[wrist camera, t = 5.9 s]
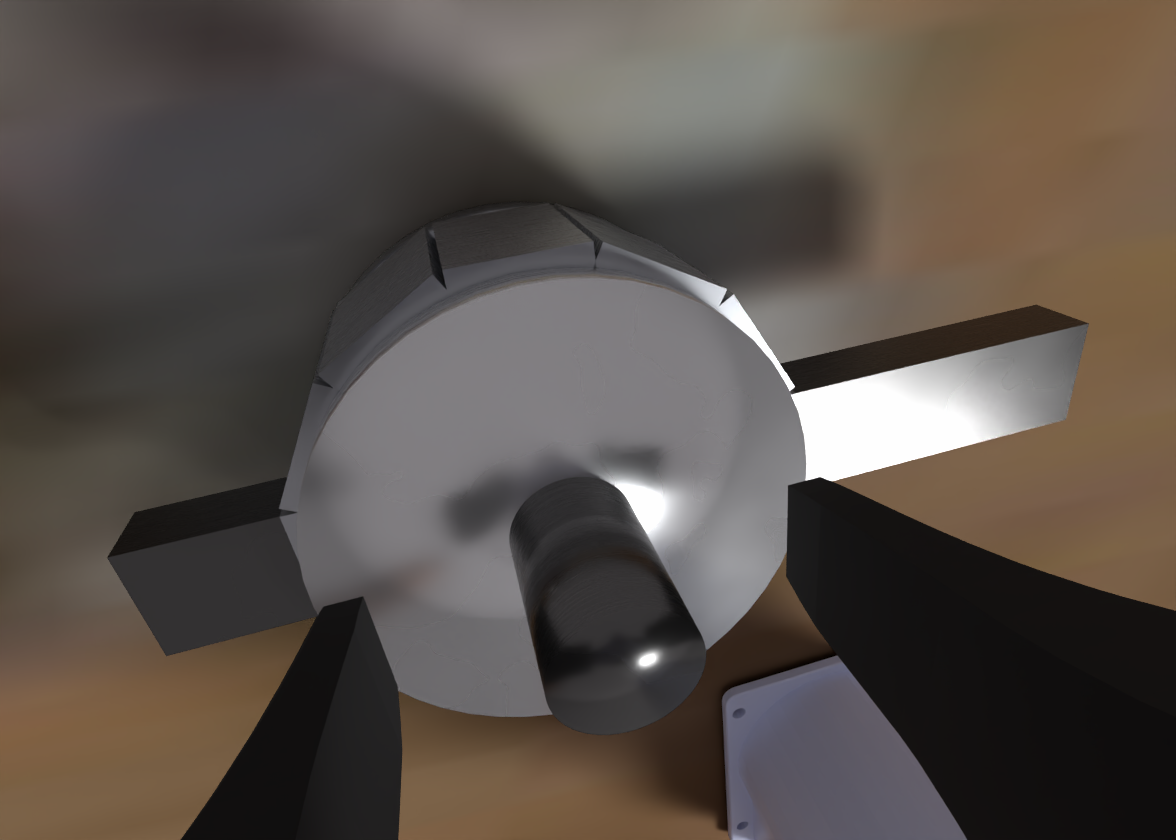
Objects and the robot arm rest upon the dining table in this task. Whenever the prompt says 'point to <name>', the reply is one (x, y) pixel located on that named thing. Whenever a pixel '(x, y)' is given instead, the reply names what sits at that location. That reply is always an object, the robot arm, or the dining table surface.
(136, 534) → the pot
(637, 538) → the lid
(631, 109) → the dining table surface
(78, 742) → the dining table surface
